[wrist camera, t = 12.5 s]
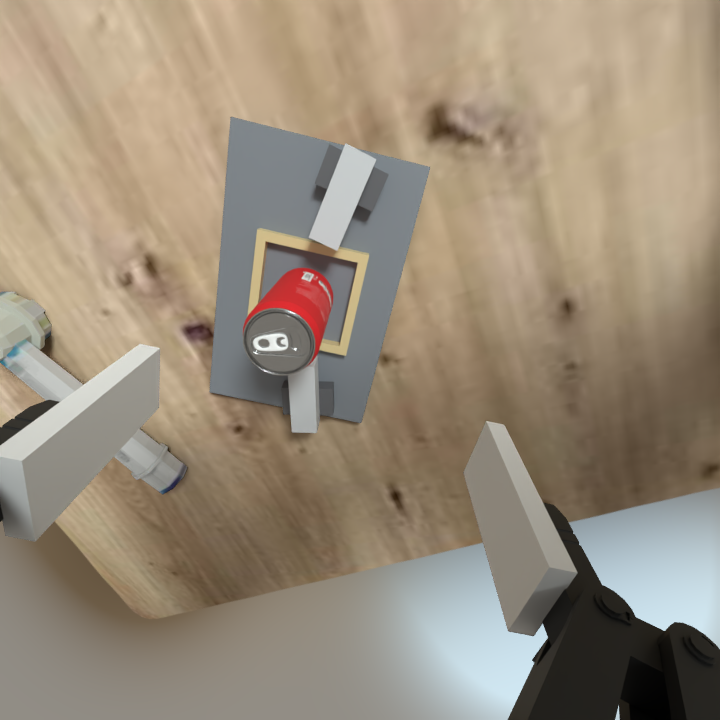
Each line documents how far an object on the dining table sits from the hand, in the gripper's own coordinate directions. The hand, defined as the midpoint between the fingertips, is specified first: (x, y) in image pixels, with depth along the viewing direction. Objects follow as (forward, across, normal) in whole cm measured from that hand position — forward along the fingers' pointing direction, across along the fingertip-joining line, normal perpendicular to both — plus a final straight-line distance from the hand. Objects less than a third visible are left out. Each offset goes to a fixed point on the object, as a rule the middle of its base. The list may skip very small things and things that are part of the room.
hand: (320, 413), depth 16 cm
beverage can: (+22, -4, -2) cm, 23 cm away
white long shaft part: (+23, -24, -18) cm, 38 cm away
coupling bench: (+23, -4, -2) cm, 24 cm away
